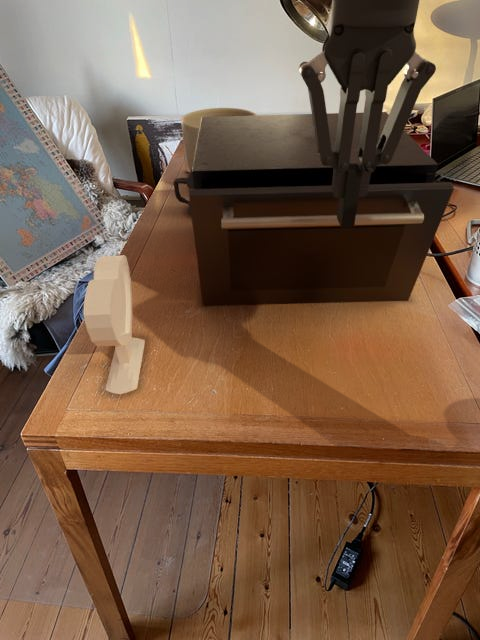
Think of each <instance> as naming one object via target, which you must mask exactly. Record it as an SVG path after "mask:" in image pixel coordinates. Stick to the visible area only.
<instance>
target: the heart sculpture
mask: <svg viewBox="0 0 480 640" xmlns="http://www.w3.org/2000/svg"><path fill="white" fill-rule="evenodd" d="M83 319H84V323H85V328H86V331H87V333H88V336H89V339H90V341H91V342H92V343H93V344H94V345H95V346H96V347H114V348H115V349H114V351H113V356H112V360H111V364H110V368H109V371H108V372H109V373H108V376H107V381H106V385H105V389H104V390H105V391H106V392H108V393H110V394H111V393H112V394H114V395H123V394H127V393H130V392H132V391H135V390H137V389H138V385H139V380H140V372H141V367H142V361H143V357H144V351H145V344H146V340H145V339H142V338H139V337H133V336H132V335H133V333H132V332H133V292H132V280H131V272H130V266H129V263H128V259H127V256H126V255H124V254H123V255H121V254H120V255H101V256H100V257H98V259H97V260H96V262H95V264H94V269H93V279H90V280H89V281H88V284H87V286H86V290H85V295H84V301H83Z"/></svg>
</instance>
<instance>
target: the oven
mask: <svg viewBox="0 0 480 640" xmlns="http://www.w3.org/2000/svg"><path fill="white" fill-rule="evenodd" d="M363 114H364V112H356V117H355V125H354V132H353V140H352V147H351V155H350V162H349V163H357V164H358V151H359V143H360V136H361V128H362V121H363ZM338 116H339V112H334V113H327V120H328V127H329V134H330V142H331V149H332V151H334V152H335V143H336V134H337V125H338ZM388 116H389V113H387V112H386V111H382V116H381V123H380V129H379V135H378V141H379V139H380V136H381V134H382V131H383V129H384V126H385V124H386V121H387V119H388ZM377 144H378V142H377ZM438 166H439V164H438V163H437V162H436V161H435V160H434V159H433V158H432V157H431V156H430V154H428V153H427V151H425V149H423V147H422V146H420V144H418V143H417V141H416V140H415V139H414V138H413V137H411V135H409V134H408V133H407V132H406V130H404V131H403V133H402V136H401V138H400V141H399V143H398V145H397V148H396V150H395V152H394V155H393V157H392V159H391V161H390V162H389V163H388V164H380V165H377V166H375V170H374V171H373V172H372V173H371V176H370V183H369V185H371V184H407V183H435V179H436V175H437V171H438ZM333 170H334V168H333V167H331V166H324V165H323V164H322V162H321V160H320V158H319V155H318V150H317V144H316V137H315V131H314V124H313V118H312V113H302V114H301V113H299V114H298V113H297V114H295V113H294V114H293V113H292V114H265V115H264V114H260V115H257V116H222V117H202V119H201V124H200V130H199V135H198V141H197V146H196V151H195V157H194V162H193V168H192V179H193V189H225V188H262V187H298V186H332V179H333Z"/></svg>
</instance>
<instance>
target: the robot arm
mask: <svg viewBox="0 0 480 640" xmlns="http://www.w3.org/2000/svg"><path fill="white" fill-rule="evenodd" d="M419 6H420V0H331V11H330V21H329V29H328V33H327V36H326V39H325V40H324V41H323V43H322V48H321V49H322V50H321V52H320V53H318V54H317V55H315V57H313V58H312V59H311V60H309V61H302V62H301V63H300V64H299V66H298V72H299V74H300V76H301V78H302V81H303V82H304V84H305V85H306V87H307V89H308V90H307V91H308V92H307V93H308V98H309V104H310V111H311V114H312V118H313V124H314V131H315V137H316V144H317V150H318V155H319V158H320V160H321V162H322V164H323V165H324V166H331V167H333V168H334V170H333V179H332V188H331V189H332V192H333V195H334V197H335V198H339V203H338V211H337V219H338V222H339V224H340V227H341V228H354V224H355V218H356V211H357V204H358V197H366V195H367V194H368V189H369V183H370V176H371V173H372V172H373V171H374V170H375V166H377V165H380V164H388V163H389V162H390V161H391V159H392V157H393V155H394V152H395V150H396V148H397V145H398V143H399V141H400V138H401V136H402V133H403V131H405V128H406V127H407V124H408V121H409V119H410V117H411V114H412V112H413V110H414V107H415V105H416V103H417V100H418V98H419V95H420V93H421V91H422V90H423V89H424V87H425V86H426V85H427V83H428V82H429V81H430V80H431V78H433V76H434V75H435V73H436V72H437V71H436V70H437V66H436V64H435V63H433V62H431V61H430V60H428V59H427V58H424V57H423V56H421V54H419V53H418V52H417V51H416V49H417V42H416V38H415V25H416V22H417V16H418V10H419ZM327 66H328V68H329V69H330V71H331V72H332V74H333V76H334V78H335V79H336V81H337V82H338V84H339V85H340V89H339V97H340V99H339V109H338V113H339V116H338V125H337V134H336V143H335V152H334V151H332V149H331V142H330V134H329V127H328V120H327V114H328V113H327V107H326V105H327V104H326V99H325V98H326V97H325V92H324V88H323V85H322V83H323V82H324V81H325V79H326V76H327V74H326V67H327ZM404 67H405V69H404ZM403 69H404V70H403ZM402 70H403V76H404V78H403V80H402V82H401V84H400V86H399V88H398V91H397V93H396V95H395V98H394V101H393V104H392V106H391V108H390V111H389V113H388V115H389V116H388V119H387V121H386V124H385V126H384V129H383V131H382V134H381V136H380V139H379V141H378V135H379V129H380V123H381V116H382V112H383V109H384V103H385V102H386V100H387V94H388V88H389V86H390V85H391V83H392V82H393V81H394V79H396V77H397V76H398V75H399V74H400V72H402ZM364 90H365V92H364V94H365V95H364V96H365V99H364V108H363V113H364V114H363V121H362V128H361V136H360V143H359V151H358V164H357V163H349V162H350V155H351V147H352V140H353V132H354V125H355V117H356V113H357V109H358V104H359V101H360V96H361V92H362V91H364ZM377 142H378V144H377Z"/></svg>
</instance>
